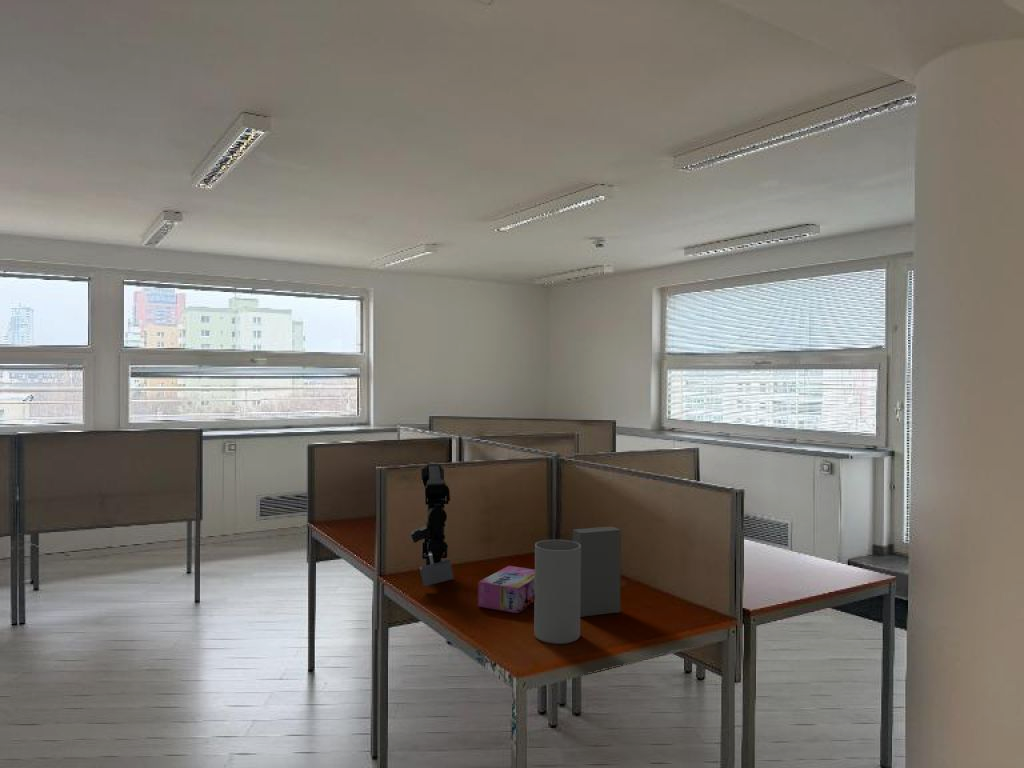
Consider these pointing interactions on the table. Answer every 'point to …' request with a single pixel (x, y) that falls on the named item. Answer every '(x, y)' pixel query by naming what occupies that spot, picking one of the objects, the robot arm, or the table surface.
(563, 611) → the cylinder vase
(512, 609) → the gum box
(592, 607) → the upright grey panel
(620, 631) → the table surface
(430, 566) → the pusher
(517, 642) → the table surface
